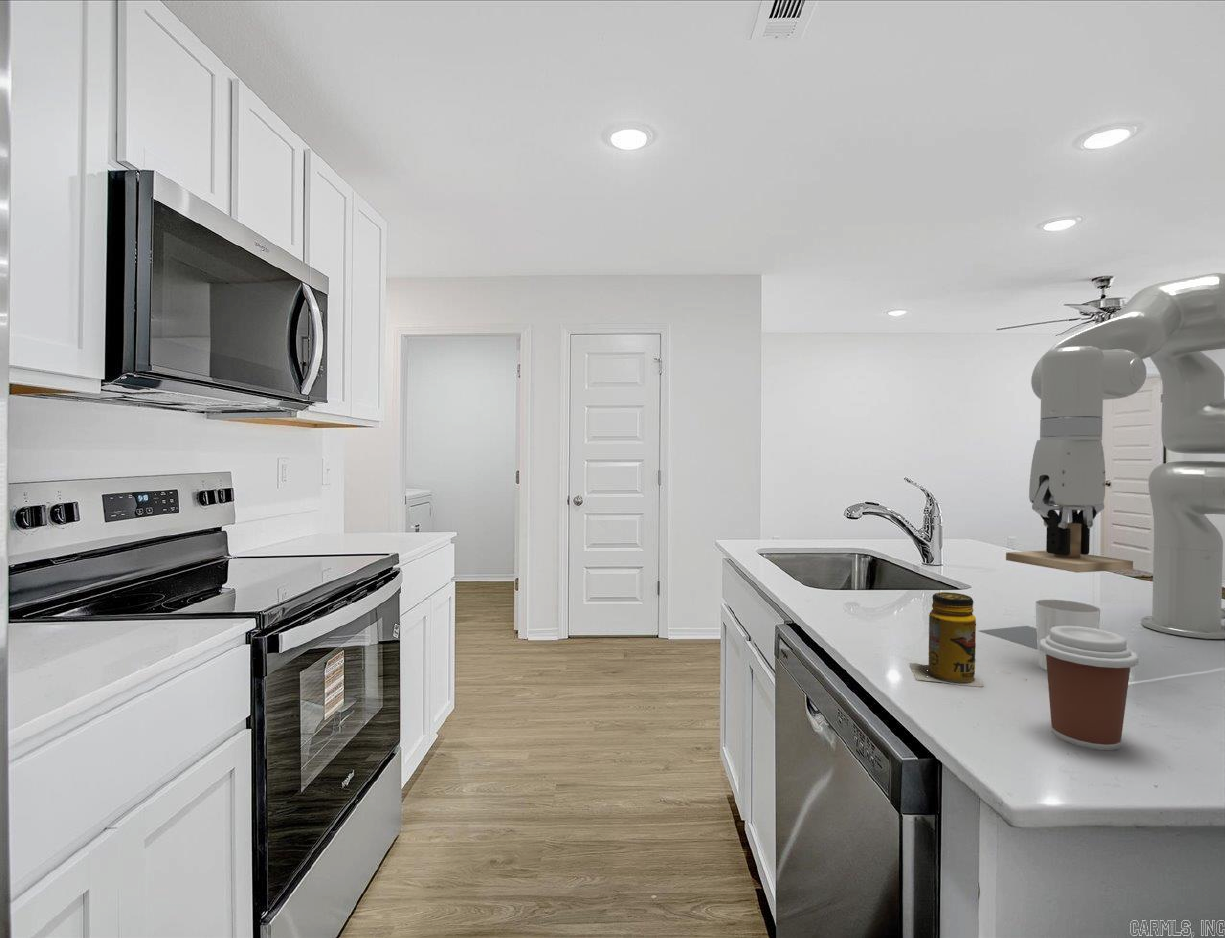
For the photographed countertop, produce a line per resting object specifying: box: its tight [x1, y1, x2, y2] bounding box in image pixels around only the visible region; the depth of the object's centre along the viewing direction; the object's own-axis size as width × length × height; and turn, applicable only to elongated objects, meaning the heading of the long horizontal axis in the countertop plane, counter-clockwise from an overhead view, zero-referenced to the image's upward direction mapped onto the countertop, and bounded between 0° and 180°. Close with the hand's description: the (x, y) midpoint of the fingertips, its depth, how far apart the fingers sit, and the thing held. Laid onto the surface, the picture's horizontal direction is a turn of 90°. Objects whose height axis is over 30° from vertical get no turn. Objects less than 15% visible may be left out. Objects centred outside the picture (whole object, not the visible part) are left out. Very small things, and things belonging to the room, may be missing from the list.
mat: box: [978, 625, 1038, 650], centre depth 111 cm, size 12×12×1 cm
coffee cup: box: [1039, 626, 1139, 751], centre depth 72 cm, size 9×9×12 cm
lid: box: [1005, 522, 1134, 573], centre depth 94 cm, size 11×11×6 cm
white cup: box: [1035, 599, 1101, 671], centre depth 94 cm, size 8×8×10 cm
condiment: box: [909, 591, 983, 688], centre depth 92 cm, size 7×8×12 cm
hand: (1067, 552), depth 94 cm, fingers closed on lid, 3 cm apart
